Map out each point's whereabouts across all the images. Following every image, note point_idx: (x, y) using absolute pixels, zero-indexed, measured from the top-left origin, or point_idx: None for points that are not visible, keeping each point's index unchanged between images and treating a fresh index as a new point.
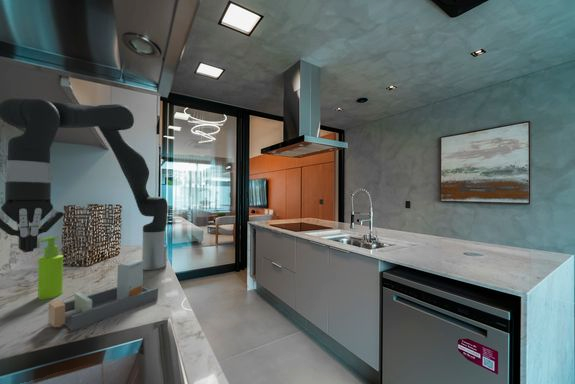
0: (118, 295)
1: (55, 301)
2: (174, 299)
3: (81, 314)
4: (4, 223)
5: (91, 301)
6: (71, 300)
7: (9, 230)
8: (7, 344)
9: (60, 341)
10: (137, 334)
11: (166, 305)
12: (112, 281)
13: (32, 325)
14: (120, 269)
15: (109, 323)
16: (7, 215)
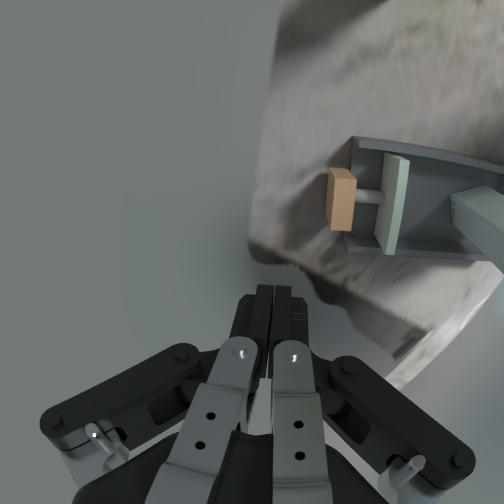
0: (458, 206)
1: (347, 185)
2: (489, 279)
3: (363, 253)
4: (140, 440)
5: (391, 253)
6: (389, 144)
7: (173, 407)
8: (258, 188)
9: (315, 260)
10: (380, 336)
11: (468, 289)
12: (500, 35)
13: (307, 134)
14: (497, 240)
15: (389, 268)
16: (124, 465)
